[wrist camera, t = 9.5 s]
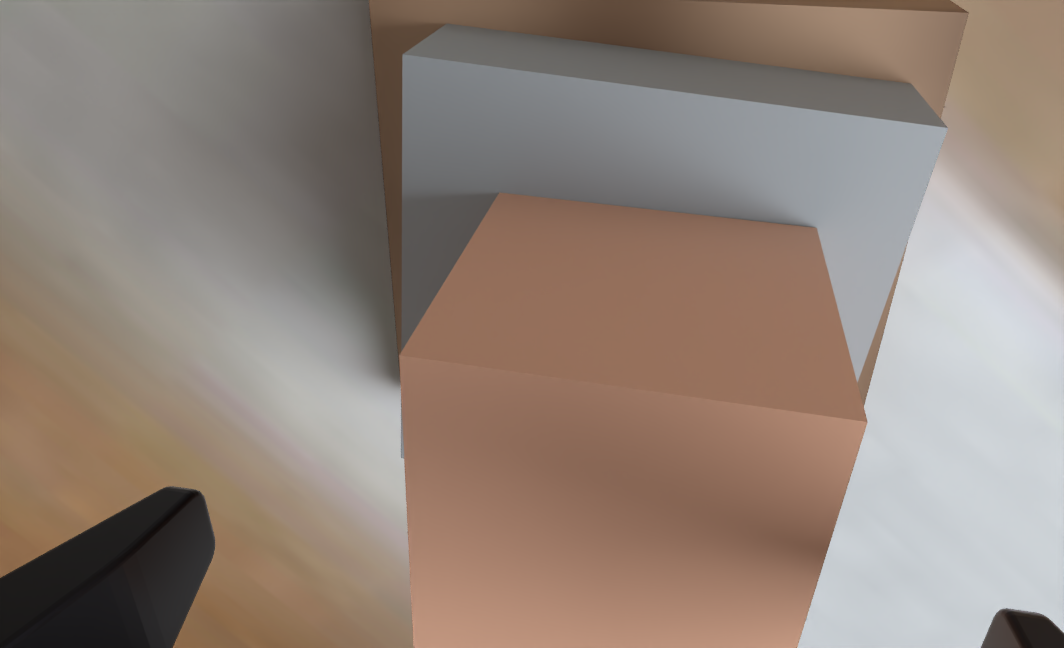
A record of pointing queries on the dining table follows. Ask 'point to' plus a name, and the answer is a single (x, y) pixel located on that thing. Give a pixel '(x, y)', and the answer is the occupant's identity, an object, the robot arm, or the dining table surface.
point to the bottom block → (685, 28)
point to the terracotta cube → (625, 431)
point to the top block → (659, 151)
